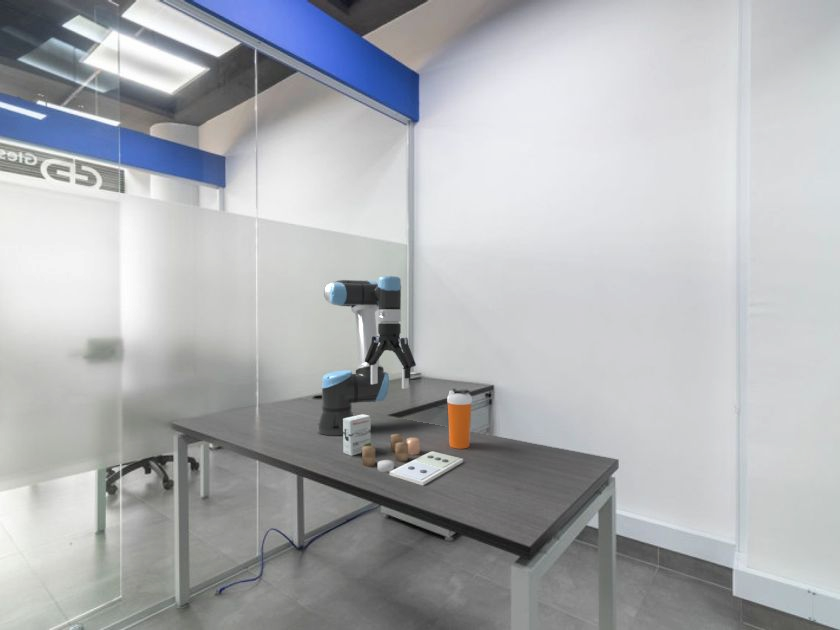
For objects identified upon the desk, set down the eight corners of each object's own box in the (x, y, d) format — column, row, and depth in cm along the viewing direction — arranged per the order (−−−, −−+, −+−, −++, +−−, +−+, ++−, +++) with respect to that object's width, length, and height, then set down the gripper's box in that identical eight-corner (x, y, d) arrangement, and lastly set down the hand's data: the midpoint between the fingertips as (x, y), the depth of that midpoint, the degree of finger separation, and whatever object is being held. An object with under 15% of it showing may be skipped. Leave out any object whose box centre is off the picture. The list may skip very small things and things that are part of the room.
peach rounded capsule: (403, 453, 140) (404, 439, 140) (411, 449, 144) (411, 436, 144) (414, 455, 137) (414, 442, 137) (422, 452, 141) (422, 439, 141)
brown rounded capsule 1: (388, 450, 142) (388, 436, 142) (395, 447, 146) (395, 433, 146) (397, 453, 140) (397, 438, 140) (404, 449, 143) (404, 435, 143)
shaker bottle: (470, 450, 143) (471, 392, 142) (445, 448, 144) (445, 391, 144) (472, 442, 151) (473, 387, 151) (448, 440, 153) (448, 386, 153)
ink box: (363, 446, 146) (363, 413, 146) (371, 450, 143) (371, 415, 142) (342, 452, 140) (342, 417, 140) (350, 456, 137) (350, 420, 136)
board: (389, 475, 121) (389, 470, 121) (431, 454, 139) (431, 449, 139) (422, 485, 114) (422, 480, 114) (463, 461, 132) (463, 457, 132)
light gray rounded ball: (374, 470, 125) (374, 463, 125) (384, 465, 129) (384, 458, 129) (387, 473, 123) (387, 467, 122) (397, 468, 127) (397, 462, 127)
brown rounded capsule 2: (392, 460, 133) (392, 444, 133) (400, 456, 137) (400, 441, 137) (402, 462, 131) (402, 447, 131) (410, 459, 134) (410, 443, 134)
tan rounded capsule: (359, 464, 130) (359, 448, 130) (368, 460, 133) (368, 445, 133) (369, 467, 127) (369, 450, 127) (377, 463, 131) (377, 447, 130)
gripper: (354, 322, 143) (354, 383, 143) (412, 323, 128) (412, 392, 129) (369, 321, 149) (369, 380, 149) (426, 323, 135) (426, 388, 135)
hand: (389, 386), depth 139 cm, fingers open, 13 cm apart
